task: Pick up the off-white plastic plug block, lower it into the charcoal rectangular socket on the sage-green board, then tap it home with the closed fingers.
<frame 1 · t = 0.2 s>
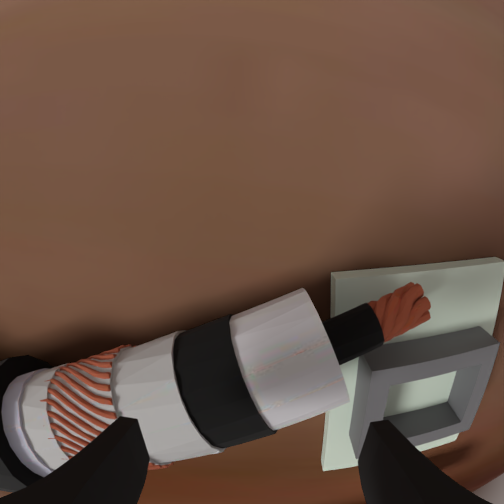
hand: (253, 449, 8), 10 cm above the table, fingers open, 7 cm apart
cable: (142, 370, 19), on the table, touching board
board: (410, 374, 19), on the table
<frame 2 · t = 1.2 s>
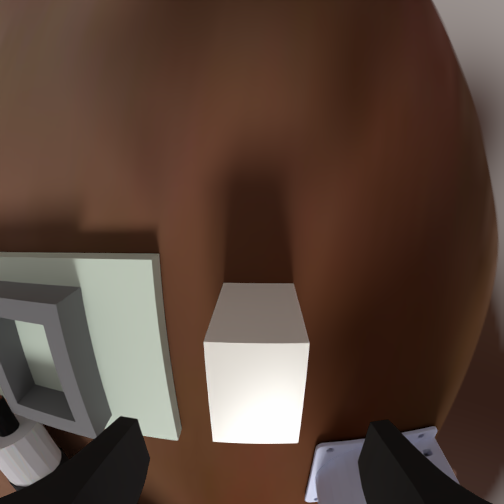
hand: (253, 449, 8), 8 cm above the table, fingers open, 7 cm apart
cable: (100, 492, 22), on the table, touching board
board: (57, 341, 17), on the table
plug: (258, 327, 17), on the table
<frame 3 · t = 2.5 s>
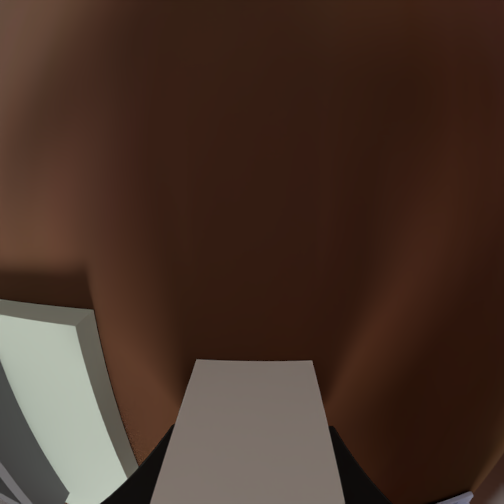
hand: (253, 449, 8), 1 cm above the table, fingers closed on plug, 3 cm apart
plug: (254, 419, 10), on the table, touching gripper
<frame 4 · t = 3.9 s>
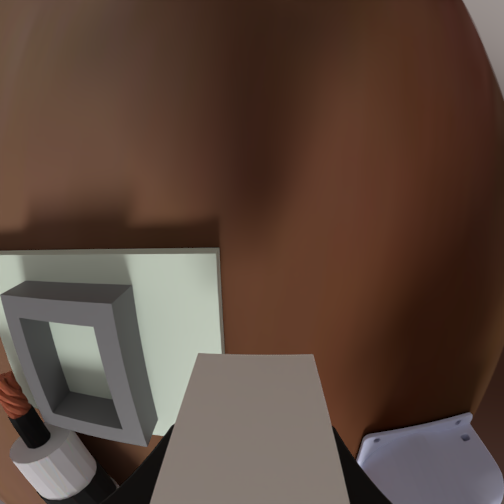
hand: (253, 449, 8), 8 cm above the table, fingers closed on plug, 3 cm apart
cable: (132, 499, 22), on the table, touching board
board: (96, 345, 17), on the table
plug: (255, 414, 10), point 7 cm above the table, touching gripper
when the fingers open (4 cm above the table, at t = 5.6 s): plug drops 2 cm, resting on board.
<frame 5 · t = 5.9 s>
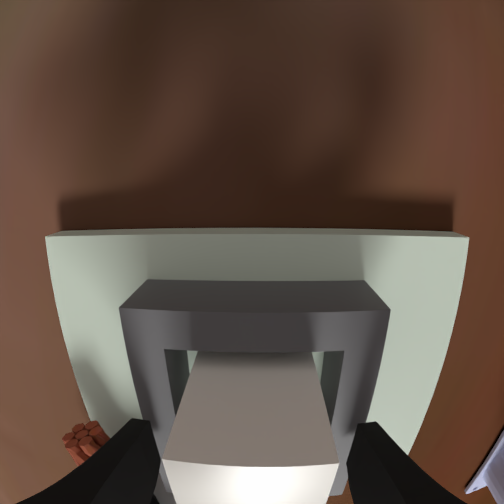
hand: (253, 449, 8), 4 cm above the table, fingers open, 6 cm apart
board: (255, 371, 13), on the table
plug: (255, 386, 12), point 1 cm above the table, touching board
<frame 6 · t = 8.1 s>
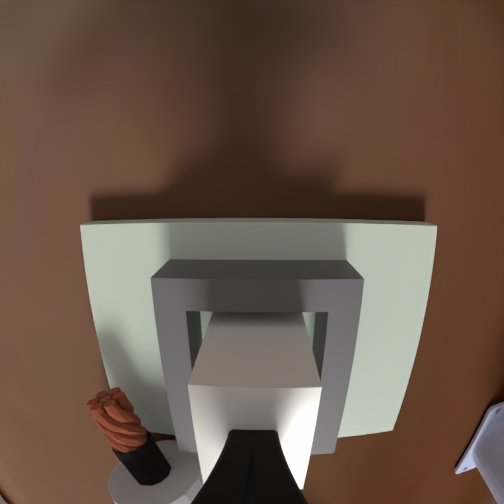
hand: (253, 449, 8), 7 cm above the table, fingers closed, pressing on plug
board: (257, 341, 15), on the table
plug: (257, 351, 14), point 1 cm above the table, touching board, gripper
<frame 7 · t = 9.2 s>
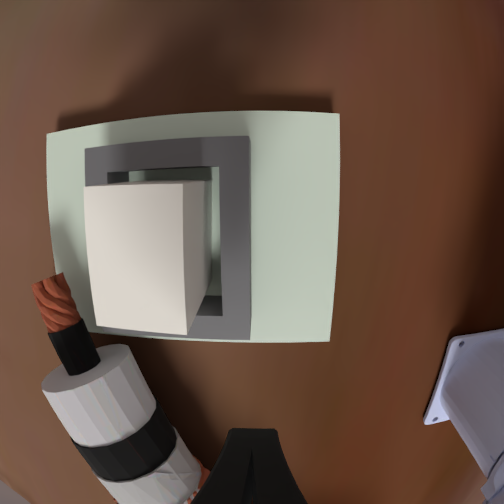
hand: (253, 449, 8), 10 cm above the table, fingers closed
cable: (181, 457, 21), on the table, touching board
board: (182, 229, 17), on the table
plug: (177, 229, 16), point 1 cm above the table, touching board
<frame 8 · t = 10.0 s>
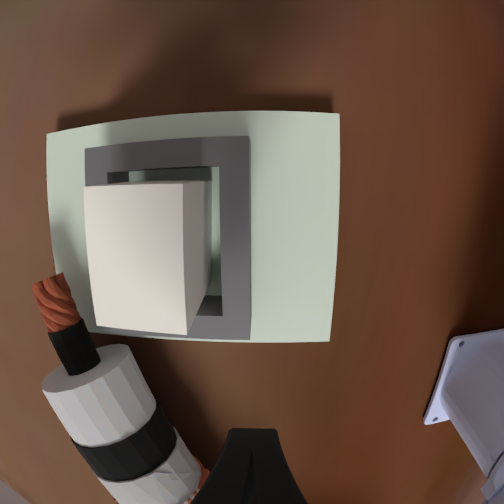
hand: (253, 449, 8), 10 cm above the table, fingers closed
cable: (181, 457, 21), on the table, touching board
board: (182, 229, 17), on the table
plug: (177, 229, 16), point 1 cm above the table, touching board
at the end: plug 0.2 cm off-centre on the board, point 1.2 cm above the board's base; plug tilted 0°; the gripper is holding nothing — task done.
